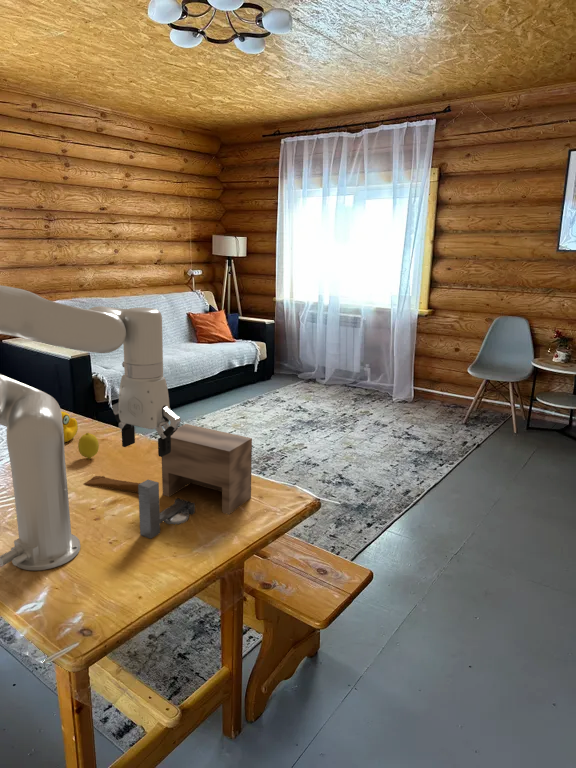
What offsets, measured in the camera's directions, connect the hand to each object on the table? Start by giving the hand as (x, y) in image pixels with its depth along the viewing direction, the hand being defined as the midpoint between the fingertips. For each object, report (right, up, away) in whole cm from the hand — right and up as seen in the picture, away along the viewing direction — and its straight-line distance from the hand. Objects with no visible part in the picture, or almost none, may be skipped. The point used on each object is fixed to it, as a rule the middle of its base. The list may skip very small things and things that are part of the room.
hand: (146, 449), depth 111 cm
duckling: (-41, -4, +56) cm, 70 cm away
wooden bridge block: (+9, -15, +23) cm, 29 cm away
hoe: (+2, -18, +10) cm, 21 cm away
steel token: (+4, -18, +12) cm, 22 cm away
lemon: (-28, -8, +44) cm, 53 cm away
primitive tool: (-15, -14, +27) cm, 33 cm away
